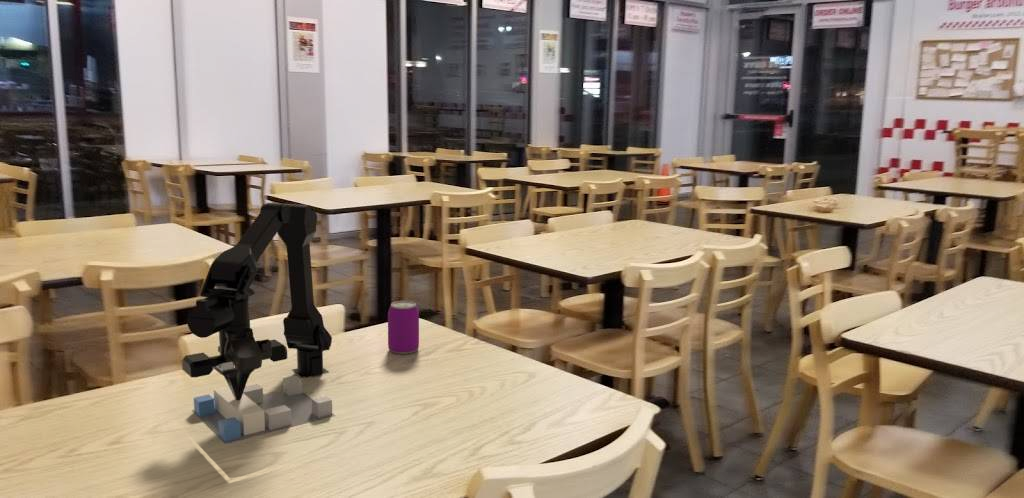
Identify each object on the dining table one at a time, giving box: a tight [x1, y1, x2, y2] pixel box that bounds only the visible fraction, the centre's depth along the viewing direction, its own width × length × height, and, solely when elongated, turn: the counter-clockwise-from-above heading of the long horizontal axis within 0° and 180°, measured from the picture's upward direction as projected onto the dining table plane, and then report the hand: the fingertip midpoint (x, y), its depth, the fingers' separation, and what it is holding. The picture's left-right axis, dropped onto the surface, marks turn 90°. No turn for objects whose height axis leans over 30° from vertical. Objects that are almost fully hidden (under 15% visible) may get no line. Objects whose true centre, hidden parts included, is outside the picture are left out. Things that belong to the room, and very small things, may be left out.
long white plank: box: [213, 385, 265, 435], centre depth 160 cm, size 16×4×4 cm, turn 39°
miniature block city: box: [191, 375, 336, 445], centre depth 163 cm, size 19×22×4 cm
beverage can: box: [387, 300, 420, 355], centre depth 204 cm, size 8×8×12 cm
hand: (237, 399), depth 160 cm, fingers closed
